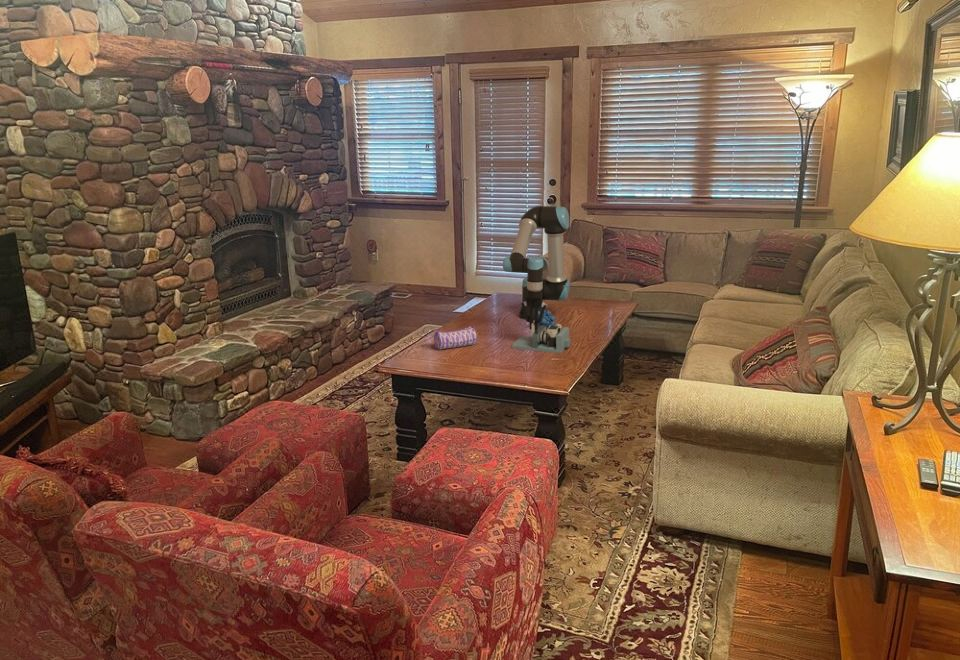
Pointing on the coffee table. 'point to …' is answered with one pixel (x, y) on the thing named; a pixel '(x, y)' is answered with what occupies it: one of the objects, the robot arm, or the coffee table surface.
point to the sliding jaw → (538, 336)
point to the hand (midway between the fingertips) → (533, 335)
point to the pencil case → (455, 338)
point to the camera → (551, 335)
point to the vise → (561, 343)
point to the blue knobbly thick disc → (546, 319)
